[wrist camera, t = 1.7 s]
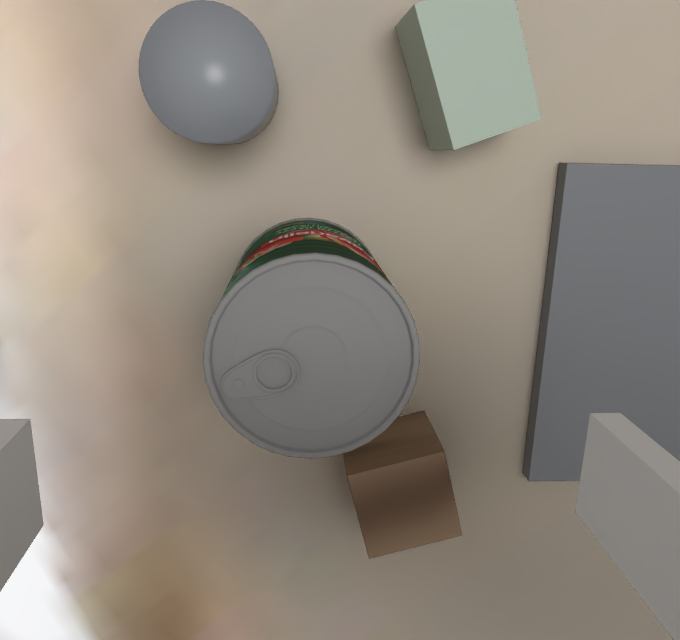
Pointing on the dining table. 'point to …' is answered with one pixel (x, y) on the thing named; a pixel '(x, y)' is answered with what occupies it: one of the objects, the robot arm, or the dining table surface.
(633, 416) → the slate grey board
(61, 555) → the dining table surface
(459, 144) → the sage box
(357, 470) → the walnut block
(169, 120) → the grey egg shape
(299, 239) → the canned tomato
